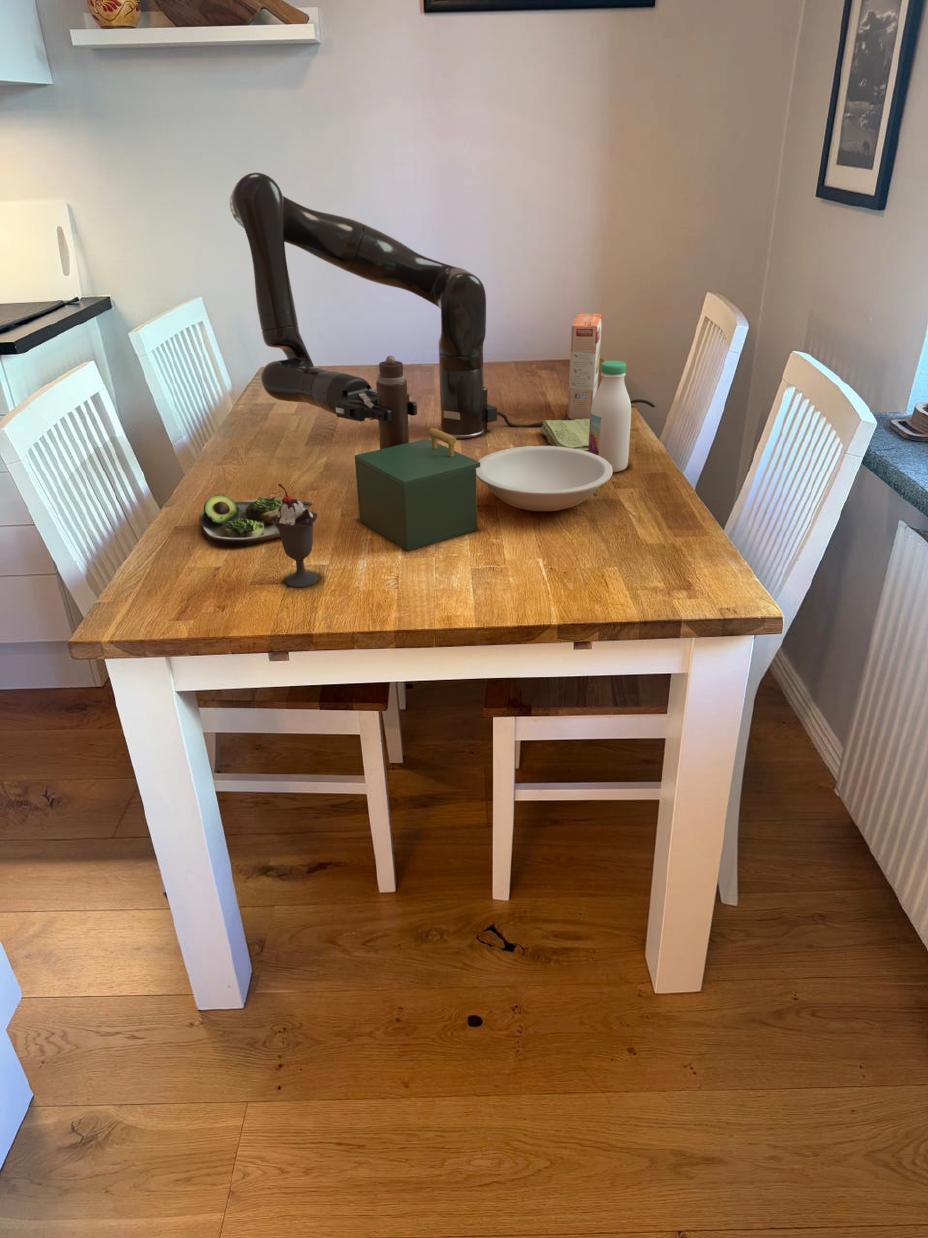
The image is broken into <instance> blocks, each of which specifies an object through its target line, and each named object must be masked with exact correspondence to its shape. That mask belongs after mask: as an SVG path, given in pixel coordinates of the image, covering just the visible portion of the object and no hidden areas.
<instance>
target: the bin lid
mask: <svg viewBox="0 0 928 1238" xmlns="http://www.w3.org/2000/svg"><path fill="white" fill-rule="evenodd" d="M428 433H429V436H430V437H431V439H430V438H424V439H419V440H415V441H411V442H410V441H409V443H406V444H402V445H397V446H393V447H389V448H384V449H380V448H379V449H376V450H372V451H368V452H367V451H366V452H361V453H359V454H354V461H355V460H356V461H358V462H360V463H362V464H364V465H365V466H367V467H369V468H371V469H373V470H375V471H376V472H378V473H380V474H382V475H384V476H386V477H388V478H389V479H391V480H393V481H395V482H397V483H399V484H400V485H402V486H404V487H405V486H408V485H412V484H416V483H420V482H424V481H428V480H432V479H436V478H440V477H443V476H447V475H451V474H455V473H459V472H463V471H467V470H471V469H475V468H478V467H480V462H478V461H479V460H476V459H474V458H472V457H469V456H467V455H465V454H463V453H461V452H458V451H456V450H455V445H456V443H457V438H455V437H453V436H451V435H449V434H446V433H444V432H442V431H441V429H437V428H435V427H432V428H430V429H429V432H428ZM438 441H441V442H443V443H445V444H448V447H447V446H445V445H444V444H443V445H442V444H441V443H438Z"/></svg>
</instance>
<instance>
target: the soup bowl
mask: <svg viewBox="0 0 928 1238" xmlns="http://www.w3.org/2000/svg"><path fill="white" fill-rule="evenodd" d="M477 461H478V462H480V467H478V468H476V479H478V480H479V481H480V482H482V483H483V484H485V485H486V487H487V488H488V489H489V490H490V492H491V493H492V494H493V495H494V496H495V497H496V498H498V499H499V500H500V501H503V502H504V503H505V504H507V505H509V506H512V507H514V508H517V509H522V510H526V511H530V512H531V511H533V512H556V511H562V510H566V509H569V508H573V507H575V506H576V507H577V506H578V505H580V504H581V503H583V502H585V501H587V500H588V499H589V498H590V497H591V496H593V495H594V494H595V493H596V491H598V489H599V487H601V486H603V485H604V484H606V483H608V482H609V480H611V478H612V476H613V473H614V472H613V469H612V466H611V464H610V463H609V462H608V461H606V460H605V459H604V458H602V457H600V456H598V455H595V454H593V453H590V452H586V451H583V450H578V449H573V448H567V447H558V446H553V445H527V446H526V445H525V446H517V447H511V448H506V449H501V450H498V451H493V452H492V453H489V454H487V455H484V456H483V457H481V458H480V459H479V460H477Z"/></svg>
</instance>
